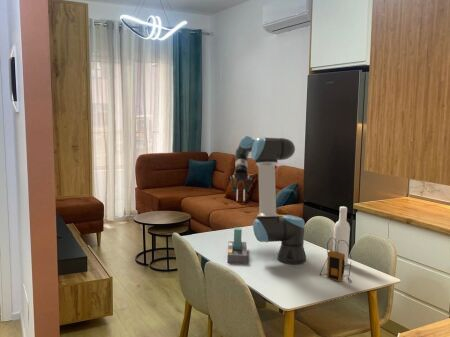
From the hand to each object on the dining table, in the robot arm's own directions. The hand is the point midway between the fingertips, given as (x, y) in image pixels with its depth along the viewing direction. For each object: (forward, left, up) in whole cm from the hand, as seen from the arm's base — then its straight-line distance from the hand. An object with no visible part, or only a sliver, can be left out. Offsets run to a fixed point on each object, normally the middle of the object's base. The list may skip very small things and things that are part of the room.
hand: (240, 199), depth 258 cm
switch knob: (-14, +10, -24) cm, 29 cm away
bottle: (-52, -31, -26) cm, 66 cm away
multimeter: (-67, -16, -26) cm, 73 cm away
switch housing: (-20, +13, -26) cm, 35 cm away
